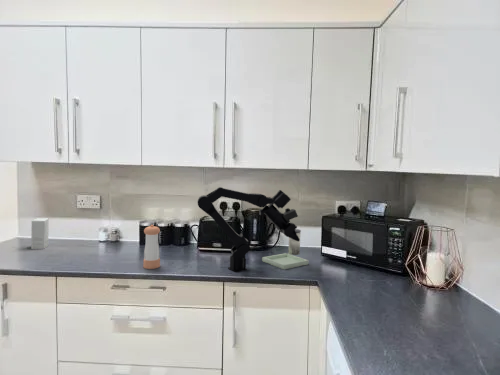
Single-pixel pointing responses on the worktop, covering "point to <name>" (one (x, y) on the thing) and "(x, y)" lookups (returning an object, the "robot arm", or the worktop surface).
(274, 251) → the worktop surface
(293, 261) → the tray
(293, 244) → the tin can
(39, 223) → the skincare box
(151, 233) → the pepper shaker
